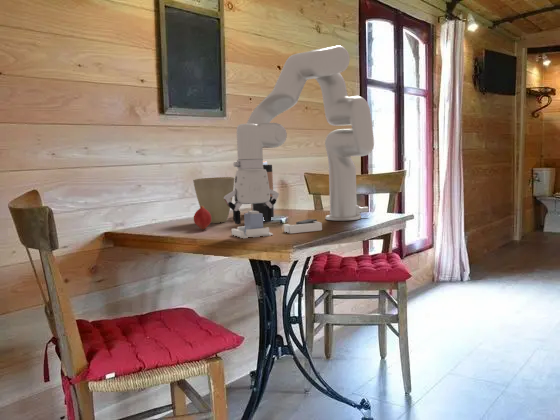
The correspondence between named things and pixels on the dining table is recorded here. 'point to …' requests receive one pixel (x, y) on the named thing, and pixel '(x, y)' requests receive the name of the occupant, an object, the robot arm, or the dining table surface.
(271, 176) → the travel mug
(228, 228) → the dining table surface
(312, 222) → the dark grey bar
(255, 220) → the block
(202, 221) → the onion
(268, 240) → the dining table surface
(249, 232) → the holder
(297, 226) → the clip
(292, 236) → the dining table surface
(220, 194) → the plant pot
